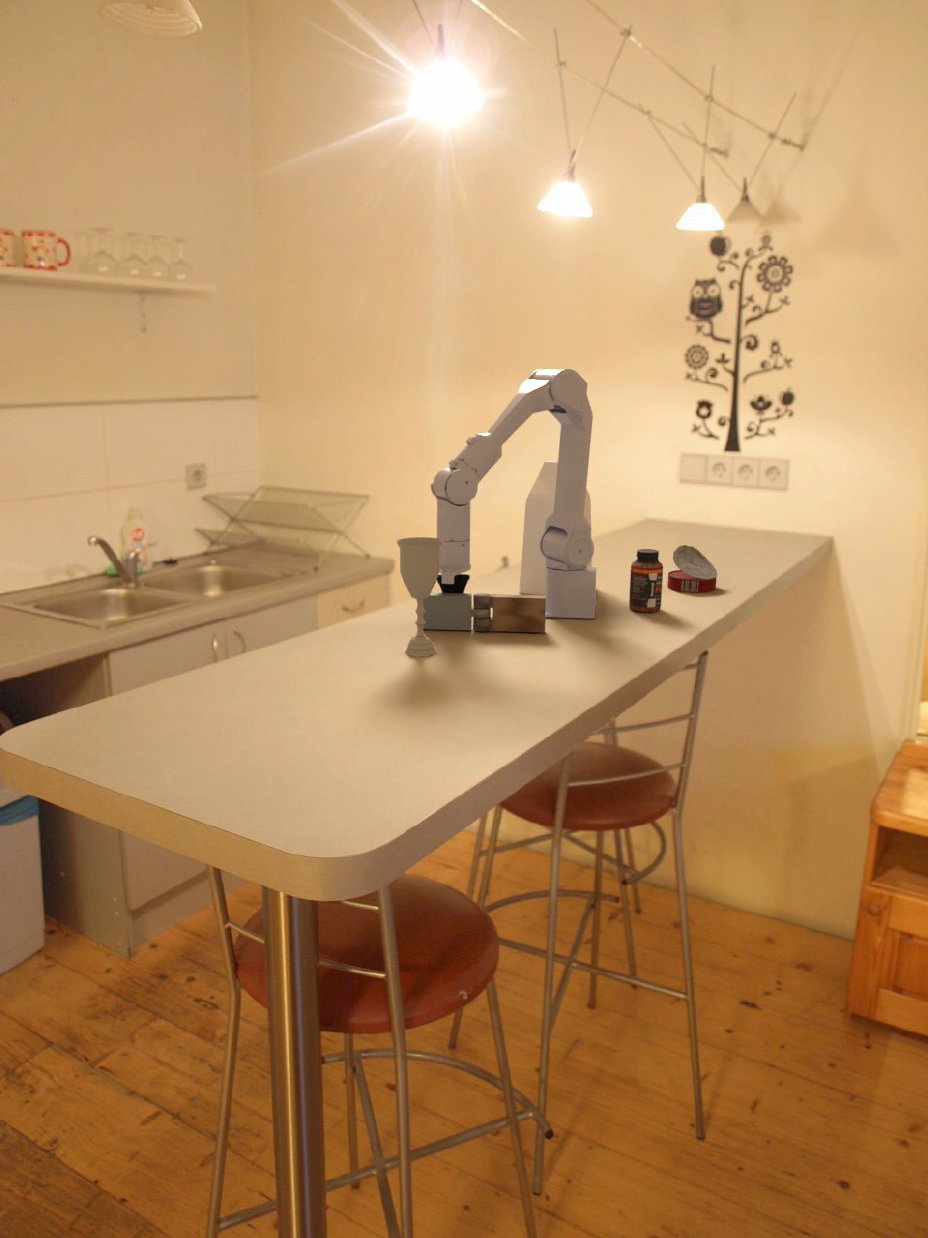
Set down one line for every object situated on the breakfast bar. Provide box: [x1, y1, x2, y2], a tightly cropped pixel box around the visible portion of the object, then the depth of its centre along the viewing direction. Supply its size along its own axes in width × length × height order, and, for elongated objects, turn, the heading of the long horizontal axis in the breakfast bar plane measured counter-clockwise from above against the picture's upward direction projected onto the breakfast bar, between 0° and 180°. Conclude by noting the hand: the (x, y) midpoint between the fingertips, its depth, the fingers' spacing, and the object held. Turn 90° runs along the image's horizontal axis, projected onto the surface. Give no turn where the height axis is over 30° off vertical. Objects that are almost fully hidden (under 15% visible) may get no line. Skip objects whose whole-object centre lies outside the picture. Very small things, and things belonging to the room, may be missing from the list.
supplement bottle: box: [628, 548, 664, 613], centre depth 186 cm, size 6×6×11 cm
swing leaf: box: [423, 592, 492, 631], centre depth 172 cm, size 12×3×6 cm, turn 84°
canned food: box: [666, 544, 718, 594], centre depth 205 cm, size 11×10×10 cm
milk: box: [518, 460, 593, 596], centre depth 201 cm, size 12×12×26 cm
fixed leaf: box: [472, 592, 547, 633], centre depth 171 cm, size 12×3×6 cm, turn 83°
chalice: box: [396, 536, 443, 657], centre depth 158 cm, size 7×7×18 cm
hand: (452, 615), depth 174 cm, fingers closed
